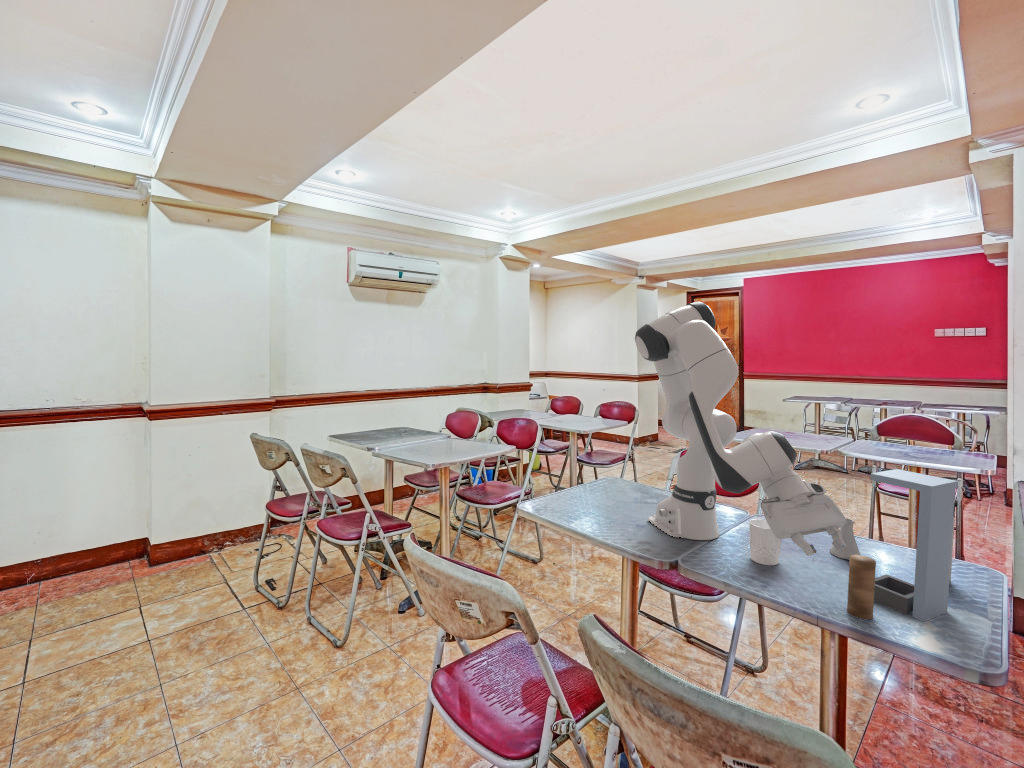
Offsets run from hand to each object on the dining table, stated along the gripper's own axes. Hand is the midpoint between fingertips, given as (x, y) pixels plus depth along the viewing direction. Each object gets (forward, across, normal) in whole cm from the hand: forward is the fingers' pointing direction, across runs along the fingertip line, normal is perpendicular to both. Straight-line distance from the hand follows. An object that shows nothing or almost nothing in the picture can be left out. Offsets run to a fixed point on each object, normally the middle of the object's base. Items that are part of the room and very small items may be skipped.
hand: (827, 551), depth 108 cm
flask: (-3, +30, +19) cm, 35 cm away
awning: (+13, +17, +3) cm, 21 cm away
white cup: (-7, +6, +23) cm, 25 cm away
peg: (+12, +3, +4) cm, 13 cm away
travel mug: (+10, +36, +6) cm, 37 cm away
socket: (+12, +16, +4) cm, 20 cm away
